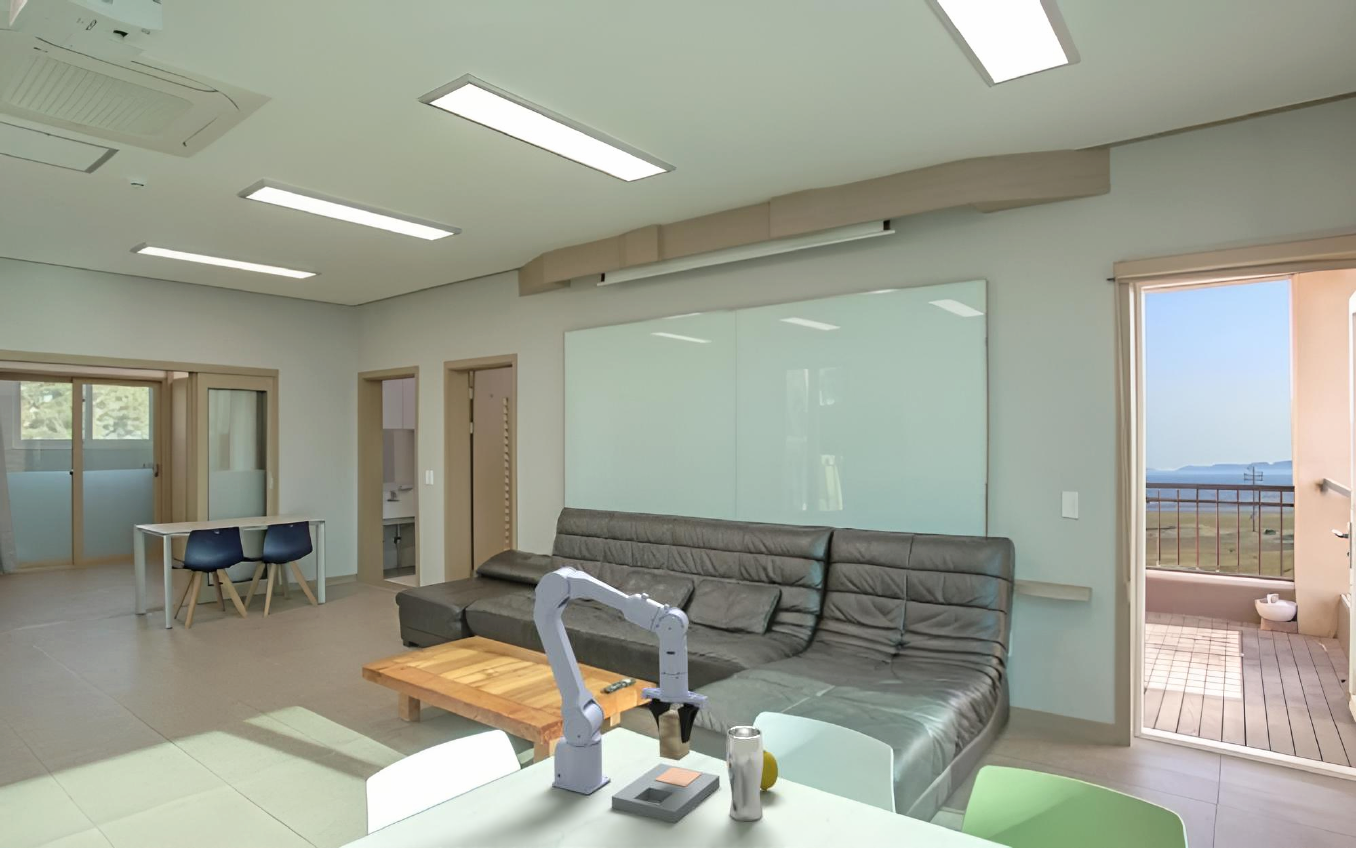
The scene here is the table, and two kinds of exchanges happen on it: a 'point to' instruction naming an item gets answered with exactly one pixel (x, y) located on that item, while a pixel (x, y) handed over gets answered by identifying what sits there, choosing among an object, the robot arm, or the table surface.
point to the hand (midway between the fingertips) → (675, 739)
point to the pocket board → (666, 792)
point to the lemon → (768, 771)
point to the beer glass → (745, 771)
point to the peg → (671, 736)
